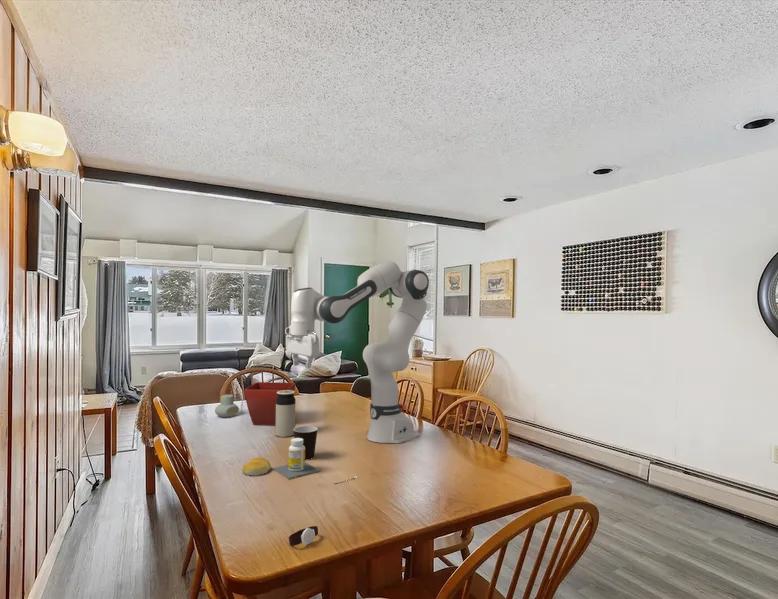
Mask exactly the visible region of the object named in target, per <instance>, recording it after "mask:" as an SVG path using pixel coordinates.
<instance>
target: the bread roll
mask: <svg viewBox="0 0 778 599" xmlns="http://www.w3.org/2000/svg"><path fill="white" fill-rule="evenodd" d="M271 467H272V466H271V463H270V462H269V460H267V459H266V458H264V457H254V458H252V459H251V460H249V461H248V462H247V463H246V464H244V466H242V469H241V472H242V473H243V474H244V475H246V476H248V475H257V476H261V474H262V475H264V473H265V474H267V473H268V472H270V470H271Z"/></svg>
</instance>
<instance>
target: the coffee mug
mask: <svg viewBox="0 0 778 599" xmlns="http://www.w3.org/2000/svg"><path fill="white" fill-rule="evenodd" d="M293 432H294V435H293V438H302V439H303V444H302V445H304V446H305V461H307V460H306V459H309V460H312V459H314V458H315V454H316V445H317V438H318V437H317V436H318V427H316V426H313V425H311V426H310V425H302V426H295V428H294V429H293ZM313 457H314V458H313ZM311 458H312V459H311Z"/></svg>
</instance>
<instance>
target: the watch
mask: <svg viewBox="0 0 778 599" xmlns="http://www.w3.org/2000/svg"><path fill="white" fill-rule="evenodd" d="M318 535H319V527H318V526H317V525H313V526H308V527H306V528H305V527H304V528H303V529H299V530H297V531H296V532H294V533H292V534H290V535H289V536H288V542H289V545H290V546H294V547H295V546H298V545H299V544H305V545H310V544H312V542H313V541H314V539H315V538H316V537H317V536H318Z"/></svg>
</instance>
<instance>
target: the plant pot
mask: <svg viewBox="0 0 778 599" xmlns="http://www.w3.org/2000/svg"><path fill="white" fill-rule="evenodd" d="M282 390H292V391H295V390H296V382H274V381H272V382H270V381H269V382H268V381H257V382H255V383H253V384H251V385H250V386H248V387H246V388H244V395H245V401H246V406H247V410H248V414H249V416H250V420H251V423H252V425H253V426H276V399H277V397H278V394H277V392H278V391H282Z"/></svg>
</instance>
